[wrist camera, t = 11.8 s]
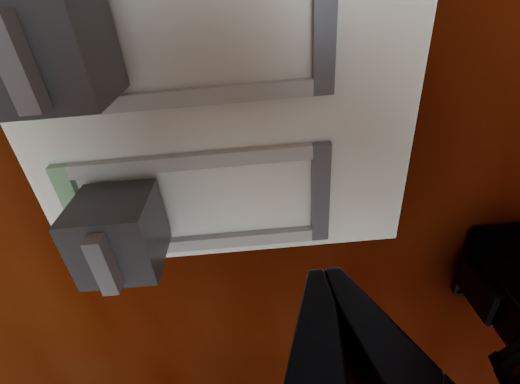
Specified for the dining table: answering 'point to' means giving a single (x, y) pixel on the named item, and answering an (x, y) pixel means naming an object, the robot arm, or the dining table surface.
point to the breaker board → (250, 120)
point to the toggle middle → (58, 59)
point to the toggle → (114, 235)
